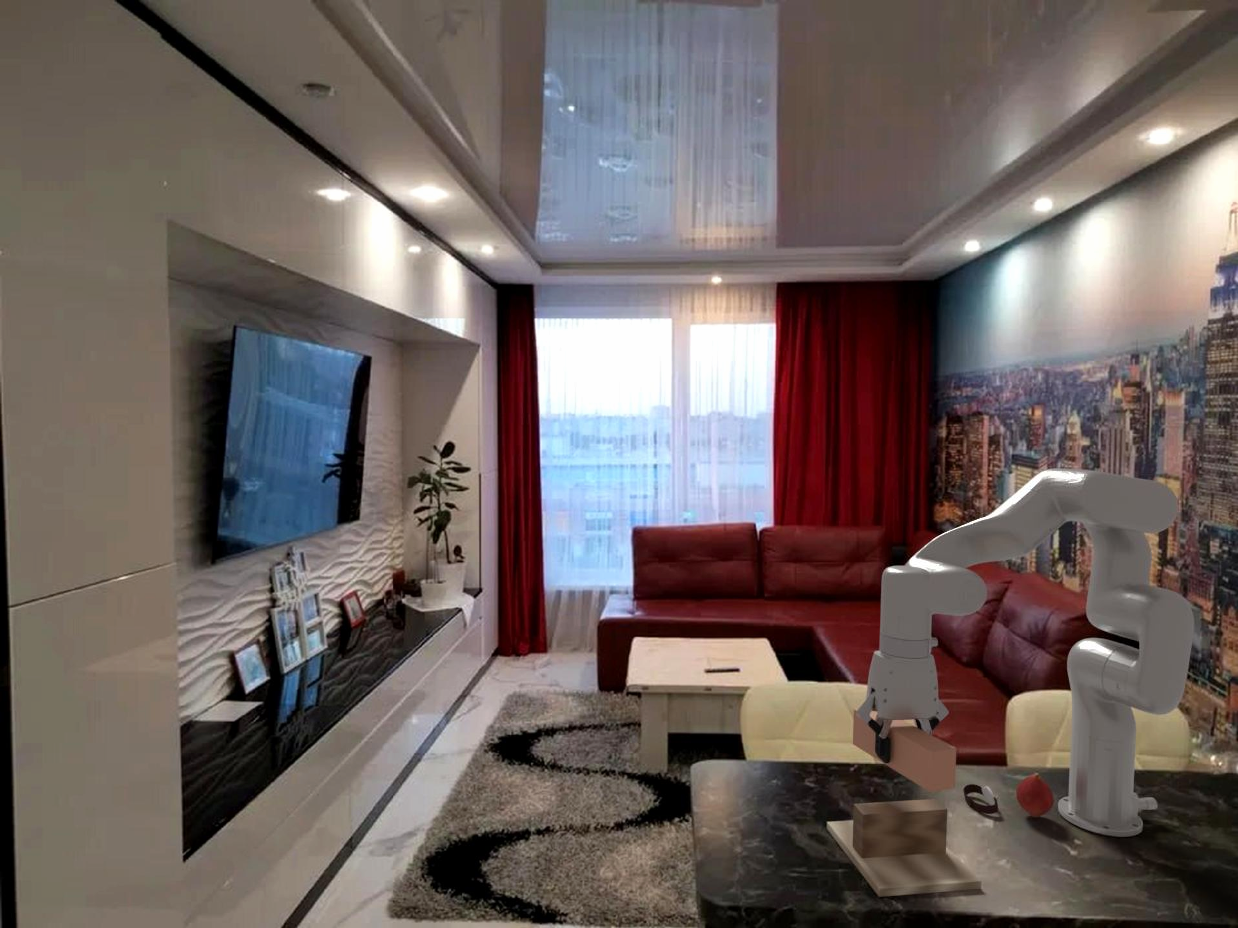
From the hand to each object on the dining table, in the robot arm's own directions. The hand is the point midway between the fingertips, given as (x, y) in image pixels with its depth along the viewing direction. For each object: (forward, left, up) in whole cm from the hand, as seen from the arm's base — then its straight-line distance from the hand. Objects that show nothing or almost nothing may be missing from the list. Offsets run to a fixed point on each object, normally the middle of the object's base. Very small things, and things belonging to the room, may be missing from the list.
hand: (901, 757), depth 122 cm
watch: (-23, -14, -17) cm, 32 cm away
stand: (0, 0, -16) cm, 16 cm away
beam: (0, 0, -1) cm, 1 cm away
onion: (-30, -9, -16) cm, 35 cm away
